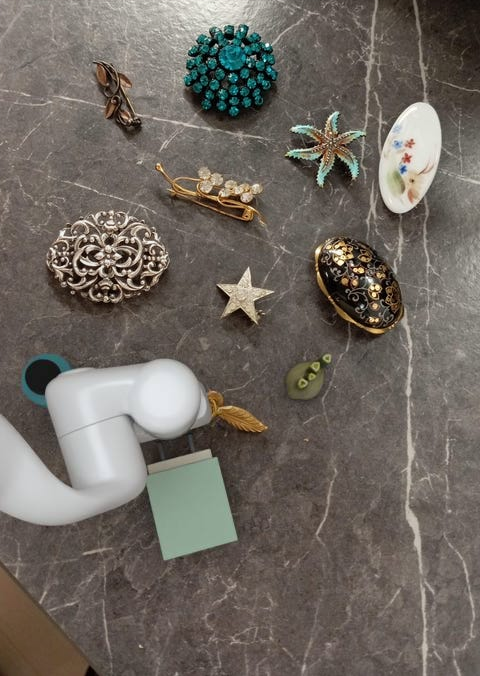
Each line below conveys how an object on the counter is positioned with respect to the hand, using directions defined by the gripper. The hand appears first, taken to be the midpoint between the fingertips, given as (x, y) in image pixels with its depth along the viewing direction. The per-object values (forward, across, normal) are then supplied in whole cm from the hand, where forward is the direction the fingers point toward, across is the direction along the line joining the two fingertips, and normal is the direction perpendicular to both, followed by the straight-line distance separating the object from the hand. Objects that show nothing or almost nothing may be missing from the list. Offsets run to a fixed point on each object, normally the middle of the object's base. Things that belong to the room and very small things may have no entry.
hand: (168, 416), depth 118 cm
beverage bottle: (+5, -13, +7) cm, 16 cm away
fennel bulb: (+5, +19, 0) cm, 20 cm away
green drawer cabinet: (+5, 0, -12) cm, 13 cm away
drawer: (+4, 0, -8) cm, 9 cm away
